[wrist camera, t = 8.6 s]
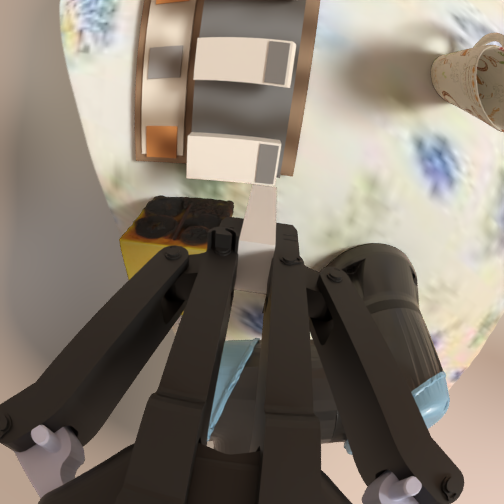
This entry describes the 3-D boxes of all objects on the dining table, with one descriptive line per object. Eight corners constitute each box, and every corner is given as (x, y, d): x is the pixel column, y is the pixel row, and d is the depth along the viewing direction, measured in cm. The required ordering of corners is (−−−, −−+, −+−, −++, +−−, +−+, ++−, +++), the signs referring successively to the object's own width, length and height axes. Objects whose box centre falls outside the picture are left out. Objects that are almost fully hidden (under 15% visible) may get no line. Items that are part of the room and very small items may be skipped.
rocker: (273, 177, 26) (274, 186, 24) (192, 169, 26) (186, 178, 24) (279, 138, 24) (281, 144, 22) (193, 130, 24) (187, 135, 22)
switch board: (292, 173, 30) (293, 184, 27) (139, 158, 30) (125, 167, 27) (321, -19, 16) (326, -30, 13) (152, -21, 16) (138, -29, 13)
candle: (234, 200, 32) (219, 248, 24) (231, 267, 38) (218, 322, 30) (154, 193, 32) (116, 235, 24) (161, 258, 38) (134, 308, 30)
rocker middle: (291, 88, 20) (286, 87, 18) (205, 79, 22) (192, 79, 20) (297, 46, 18) (293, 41, 16) (209, 41, 19) (197, 37, 17)
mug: (411, 85, 22) (463, 94, 14) (444, 10, 15) (495, 0, 6) (460, 125, 23) (512, 150, 15) (490, 53, 16) (543, 61, 8)
